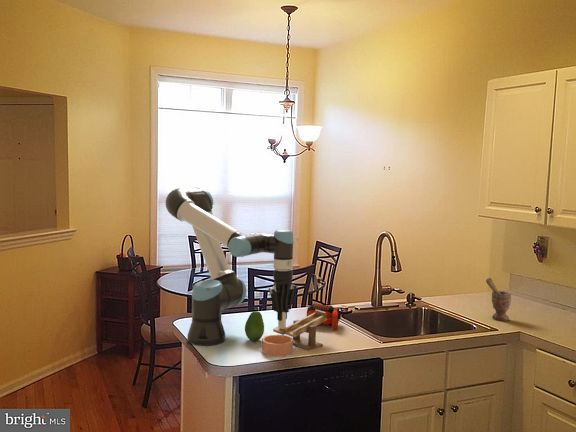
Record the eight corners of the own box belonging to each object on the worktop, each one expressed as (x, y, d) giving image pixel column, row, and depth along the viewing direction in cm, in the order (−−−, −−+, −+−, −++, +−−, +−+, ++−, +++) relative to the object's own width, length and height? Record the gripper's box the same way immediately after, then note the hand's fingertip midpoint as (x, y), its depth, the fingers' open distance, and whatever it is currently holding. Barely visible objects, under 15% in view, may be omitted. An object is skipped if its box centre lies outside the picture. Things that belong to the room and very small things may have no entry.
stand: (307, 350, 205) (308, 328, 204) (285, 341, 214) (286, 321, 214) (322, 346, 210) (323, 325, 209) (300, 338, 220) (300, 318, 219)
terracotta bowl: (275, 358, 195) (275, 346, 195) (255, 350, 204) (256, 338, 203) (298, 352, 203) (299, 340, 202) (278, 344, 211) (279, 333, 211)
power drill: (310, 300, 247) (342, 303, 243) (310, 318, 249) (342, 321, 245) (303, 310, 233) (336, 313, 229) (302, 329, 234) (336, 333, 230)
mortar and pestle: (494, 322, 250) (496, 280, 249) (481, 317, 258) (483, 277, 257) (513, 320, 254) (516, 279, 253) (500, 316, 262) (502, 276, 261)
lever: (294, 341, 204) (292, 330, 203) (273, 333, 213) (272, 323, 212) (328, 322, 216) (326, 312, 215) (307, 316, 225) (306, 306, 224)
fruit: (268, 340, 216) (268, 311, 215) (254, 344, 210) (254, 314, 209) (254, 336, 221) (255, 307, 220) (240, 340, 215) (240, 311, 214)
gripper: (276, 272, 202) (275, 333, 204) (301, 269, 211) (300, 327, 213) (264, 269, 208) (263, 328, 210) (289, 266, 217) (288, 323, 219)
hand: (281, 328), depth 211 cm, fingers closed
